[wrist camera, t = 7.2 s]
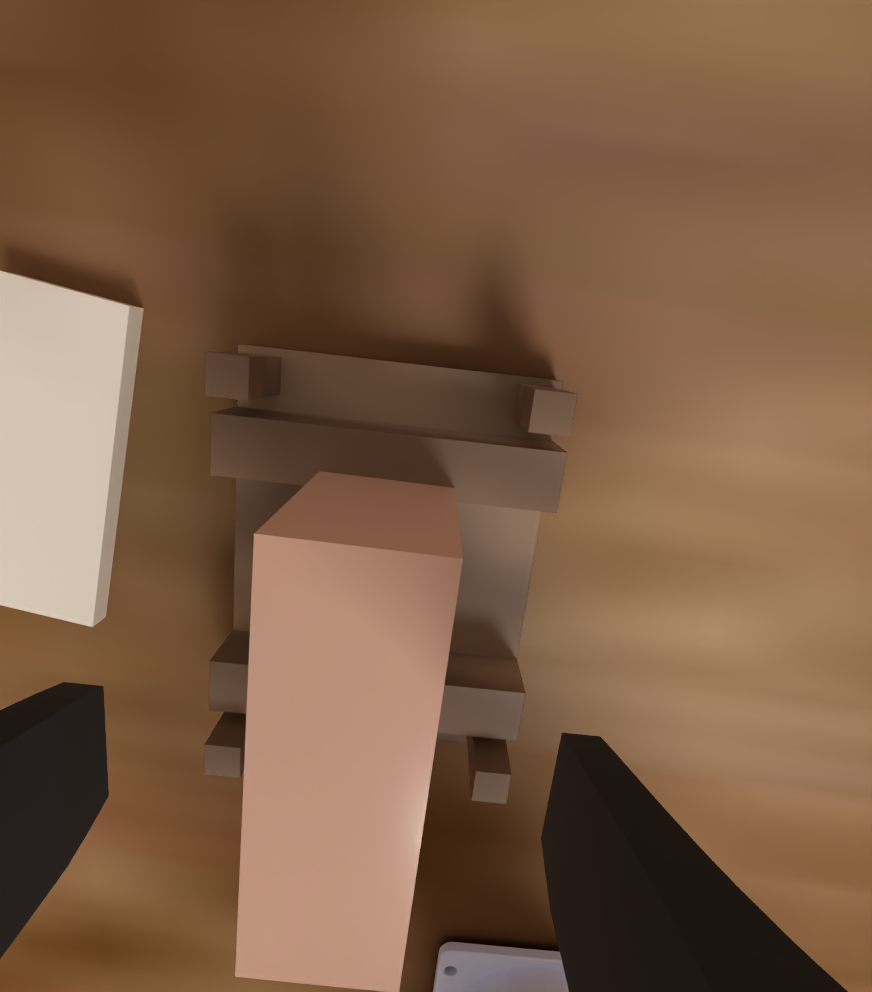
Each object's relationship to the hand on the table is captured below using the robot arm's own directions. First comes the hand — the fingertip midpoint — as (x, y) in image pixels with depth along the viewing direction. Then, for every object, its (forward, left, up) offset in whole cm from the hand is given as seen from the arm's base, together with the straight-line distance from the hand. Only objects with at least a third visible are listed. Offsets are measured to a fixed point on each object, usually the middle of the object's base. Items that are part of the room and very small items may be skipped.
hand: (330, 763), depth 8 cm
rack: (0, 0, -9) cm, 9 cm away
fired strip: (+2, +10, -10) cm, 14 cm away
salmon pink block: (-2, 0, -6) cm, 7 cm away
